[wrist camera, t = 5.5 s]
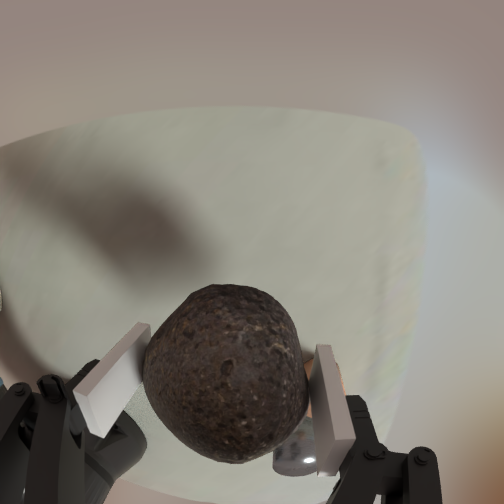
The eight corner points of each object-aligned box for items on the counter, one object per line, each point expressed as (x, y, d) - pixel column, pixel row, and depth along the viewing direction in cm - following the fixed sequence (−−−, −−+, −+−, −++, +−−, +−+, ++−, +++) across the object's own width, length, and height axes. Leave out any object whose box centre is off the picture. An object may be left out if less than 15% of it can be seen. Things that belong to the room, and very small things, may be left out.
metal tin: (273, 437, 27) (271, 476, 22) (275, 411, 26) (273, 454, 20) (315, 436, 27) (319, 475, 21) (321, 410, 26) (327, 452, 20)
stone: (242, 388, 20) (351, 441, 12) (141, 425, 14) (231, 529, 7) (232, 263, 19) (366, 272, 12) (109, 279, 14) (190, 324, 6)
